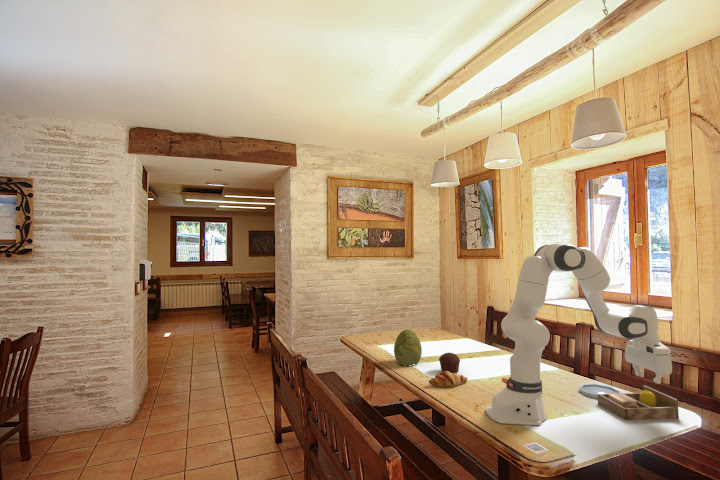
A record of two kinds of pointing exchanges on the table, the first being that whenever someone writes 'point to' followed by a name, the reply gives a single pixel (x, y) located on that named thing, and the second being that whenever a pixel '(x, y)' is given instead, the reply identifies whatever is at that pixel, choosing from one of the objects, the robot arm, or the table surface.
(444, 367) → the muffin
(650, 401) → the lemon
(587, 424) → the table surface
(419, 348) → the decorative sculpture
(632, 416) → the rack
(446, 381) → the croissant
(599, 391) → the plate
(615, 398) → the block
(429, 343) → the table surface
